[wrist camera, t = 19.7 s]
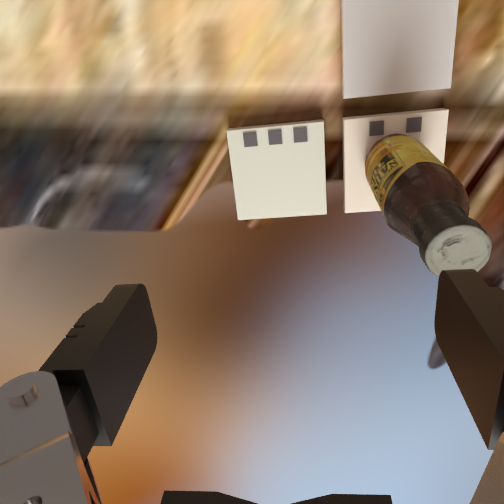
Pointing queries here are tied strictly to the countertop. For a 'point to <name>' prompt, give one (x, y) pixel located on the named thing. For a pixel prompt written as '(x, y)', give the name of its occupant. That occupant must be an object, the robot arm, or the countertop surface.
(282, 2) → the countertop surface
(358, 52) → the tile one
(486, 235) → the sauce bottle
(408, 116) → the tile two
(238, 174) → the tile three
